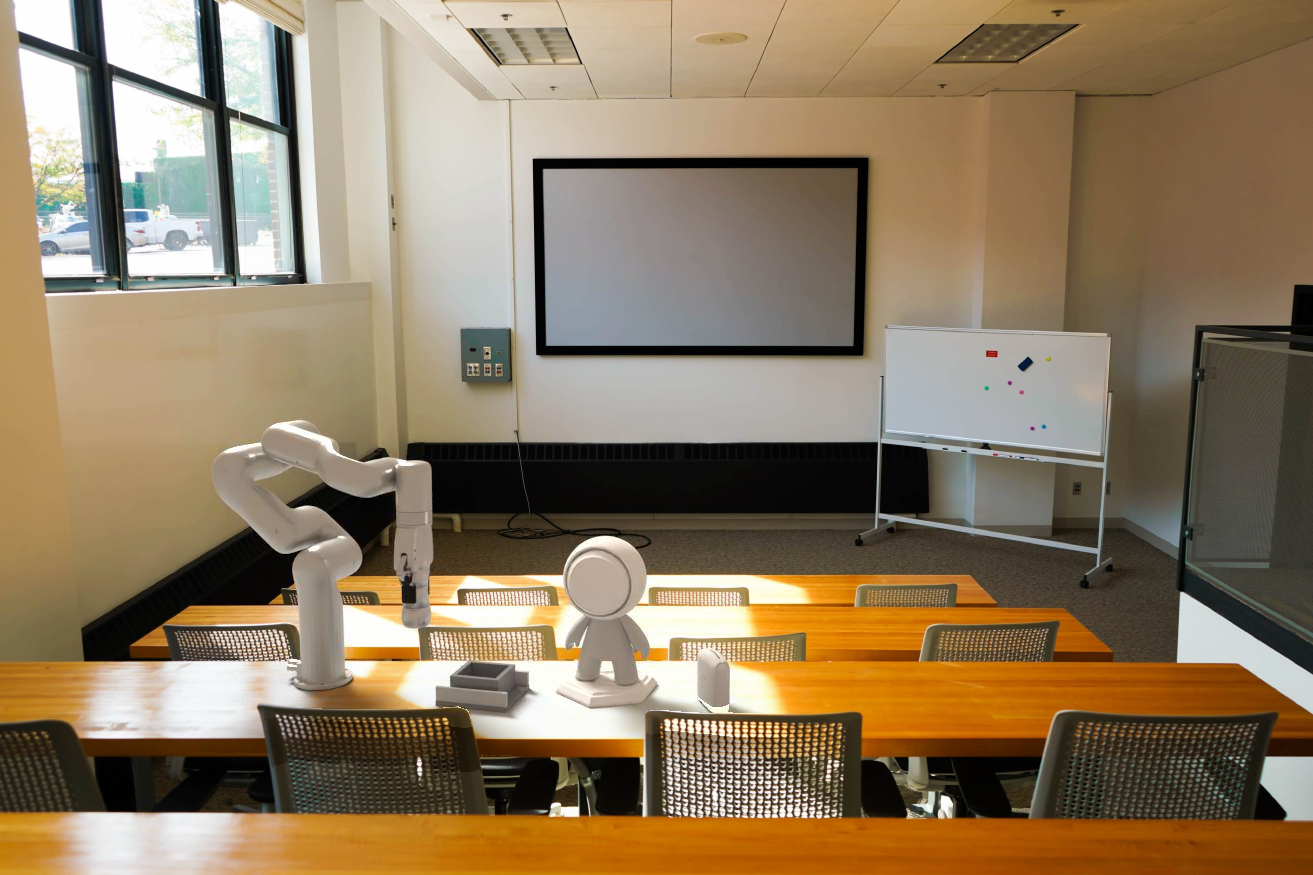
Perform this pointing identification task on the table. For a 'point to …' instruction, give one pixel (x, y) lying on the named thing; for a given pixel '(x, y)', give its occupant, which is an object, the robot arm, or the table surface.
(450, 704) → the gray open square box
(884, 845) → the table surface
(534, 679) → the table surface
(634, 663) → the white cartoon figure
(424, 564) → the plastic bottle
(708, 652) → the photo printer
